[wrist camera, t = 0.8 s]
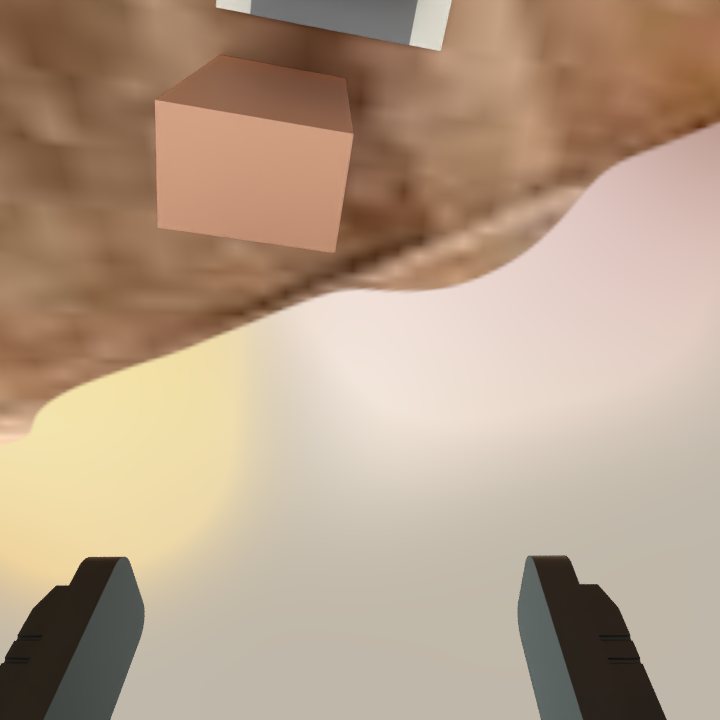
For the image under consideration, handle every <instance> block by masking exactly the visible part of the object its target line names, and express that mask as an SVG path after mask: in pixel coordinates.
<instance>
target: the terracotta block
mask: <svg viewBox="0 0 720 720" xmlns="http://www.w3.org/2000/svg"><path fill="white" fill-rule="evenodd" d="M155 124H156V171H157V219H158V228H165V229H172V230H179V231H186V232H193V233H200V234H207V235H214V236H221V237H227V238H234V239H241V240H248V241H255V242H262V243H269V244H276V245H283V246H290V247H297V248H304V249H311V250H317V251H324V252H331V253H335V249H336V243H337V237H338V230H339V224H340V218H341V211H342V205H343V199H344V192H345V186H346V180H347V174H348V167H349V161H350V155H351V148H352V142H353V136H354V132H353V125H352V118H351V112H350V105H349V98H348V91H347V84H346V78H342V77H337V76H331V75H326V74H321V73H315V72H310V71H304V70H299V69H294V68H288V67H283V66H277V65H272V64H266V63H261V62H256V61H250V60H245V59H239V58H234V57H229V56H223V55H219V56H218V57H216V58H215V59H213V60H212V61H210V62H209V63H208V64H206V65H205V66H203V67H202V68H200V69H199V70H197V71H196V72H195V73H193V74H192V75H190V76H189V77H187V78H186V79H184V80H183V81H182V82H180V83H179V84H177V85H176V86H174V87H173V88H171V89H170V90H169V91H167V92H166V93H164V94H163V95H161V96H160V97H158V98H157V99H156V100H155Z"/></svg>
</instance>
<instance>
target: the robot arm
mask: <svg viewBox="0 0 720 720" xmlns="http://www.w3.org/2000/svg"><path fill="white" fill-rule="evenodd" d="M143 625H144V604H143V601H142V598H141V595H140V592H139V589H138V586H137V582H136V580H135V576H134V573H133V570H132V567H131V564H130V562H129V560H128V558H126V557H88V558H86V559H85V560H83V562H82V563H81V564H80V566H79V568H78V570H77V571H76V573H75V575H74V577H73V579H72V581H71V583H70V585H69V586H55V587H54V588H53V589H52V590H51V591H50V592H49V593H48V594H47V595H46V596H45V597H44V598H43V599H42V600H41V601H40V602H39V603H38V604H37V605H36V606H35V607H34V608H33V609H32V611H31V613H30V614H29V616H28V618H27V620H26V622H25V623H24V625H23V627H22V629H21V631H20V632H19V634H18V639H17V640H16V641H14V642H13V644H12V646H11V648H10V649H9V651H8V653H7V655H6V657H5V662H4V663H2V664H1V665H0V720H110V719H111V716H112V713H113V711H114V708H115V705H116V702H117V700H118V697H119V694H120V692H121V688H122V686H123V683H124V681H125V678H126V675H127V673H128V670H129V667H130V665H131V662H132V659H133V657H134V654H135V651H136V648H137V646H138V643H139V640H140V637H141V634H142V630H143ZM518 625H519V631H520V636H521V641H522V645H523V649H524V653H525V657H526V661H527V665H528V669H529V673H530V677H531V681H532V685H533V689H534V693H535V697H536V701H537V705H538V709H539V713H540V717H541V720H667V719H666V717H665V715H664V712H663V710H662V708H661V705H660V703H659V701H658V699H657V696H656V694H655V692H654V689H653V687H652V685H651V682H650V680H649V678H648V675H647V673H646V671H645V668H644V666H643V664H641V662H640V657H639V654H638V652H637V650H636V647H635V645H634V643H633V641H631V639H630V633H629V631H628V629H627V626H626V624H625V622H624V619H623V617H622V615H621V612H620V610H619V608H618V607H617V606H616V604H615V603H614V602H613V601H612V600H611V599H610V598H609V597H608V595H607V594H606V593H605V592H604V591H603V590H602V589H601V588H600V587H599V585H597V584H579V582H578V579H577V577H576V574H575V571H574V568H573V566H572V564H571V561H570V559H569V558H568V557H567V556H528V557H527V559H526V563H525V568H524V573H523V579H522V585H521V590H520V596H519V601H518Z"/></svg>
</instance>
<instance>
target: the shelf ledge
mask: <svg viewBox="0 0 720 720" xmlns="http://www.w3.org/2000/svg"><path fill="white" fill-rule="evenodd" d="M451 1H452V0H216V7H217V8H222V9H227V10H232V11H238V12H243V13H248V14H250V15H255V16H261V17H266V18H271V19H276V20H281V21H286V22H291V23H296V24H302V25H307V26H312V27H317V28H322V29H327V30H332V31H338V32H343V33H348V34H353V35H358V36H363V37H368V38H373V39H379V40H384V41H389V42H394V43H399V44H404V45H412V46H417V47H422V48H427V49H433V50H438V51H441V47H442V42H443V38H444V33H445V29H446V24H447V20H448V15H449V11H450V6H451Z"/></svg>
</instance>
